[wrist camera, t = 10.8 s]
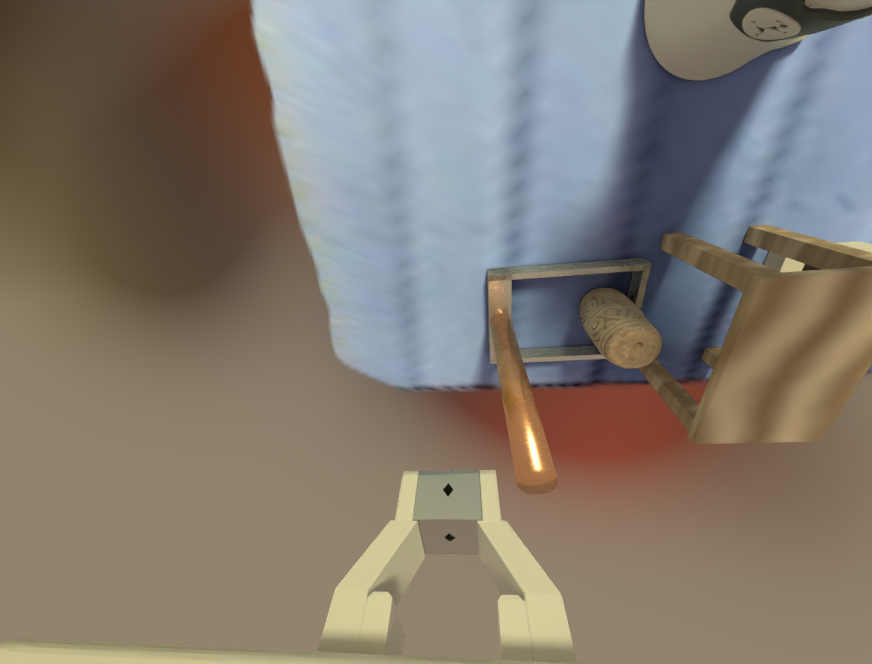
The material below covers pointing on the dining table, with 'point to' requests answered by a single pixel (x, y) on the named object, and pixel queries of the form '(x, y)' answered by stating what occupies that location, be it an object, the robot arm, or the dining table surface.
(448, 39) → the dining table surface
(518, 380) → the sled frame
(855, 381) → the tunnel
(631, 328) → the carving
